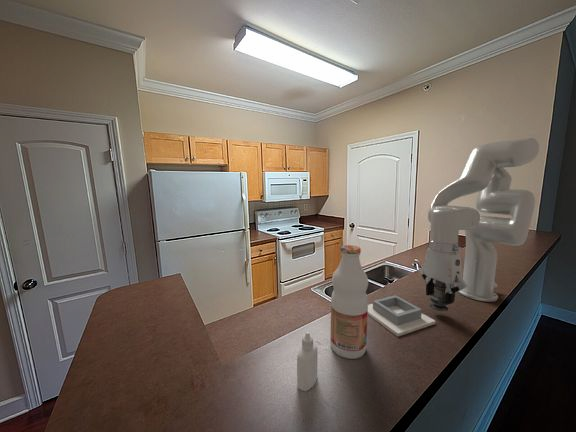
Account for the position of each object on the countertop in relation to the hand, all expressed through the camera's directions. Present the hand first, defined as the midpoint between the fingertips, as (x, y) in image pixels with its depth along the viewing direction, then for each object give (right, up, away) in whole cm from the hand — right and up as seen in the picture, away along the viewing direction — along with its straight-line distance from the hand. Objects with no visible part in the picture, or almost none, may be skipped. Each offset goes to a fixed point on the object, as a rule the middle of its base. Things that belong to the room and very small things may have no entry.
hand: (439, 298), depth 76 cm
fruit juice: (-34, -8, -14) cm, 38 cm away
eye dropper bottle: (-46, -10, -25) cm, 54 cm away
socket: (-14, -6, 0) cm, 16 cm away
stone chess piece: (0, -3, 0) cm, 3 cm away
